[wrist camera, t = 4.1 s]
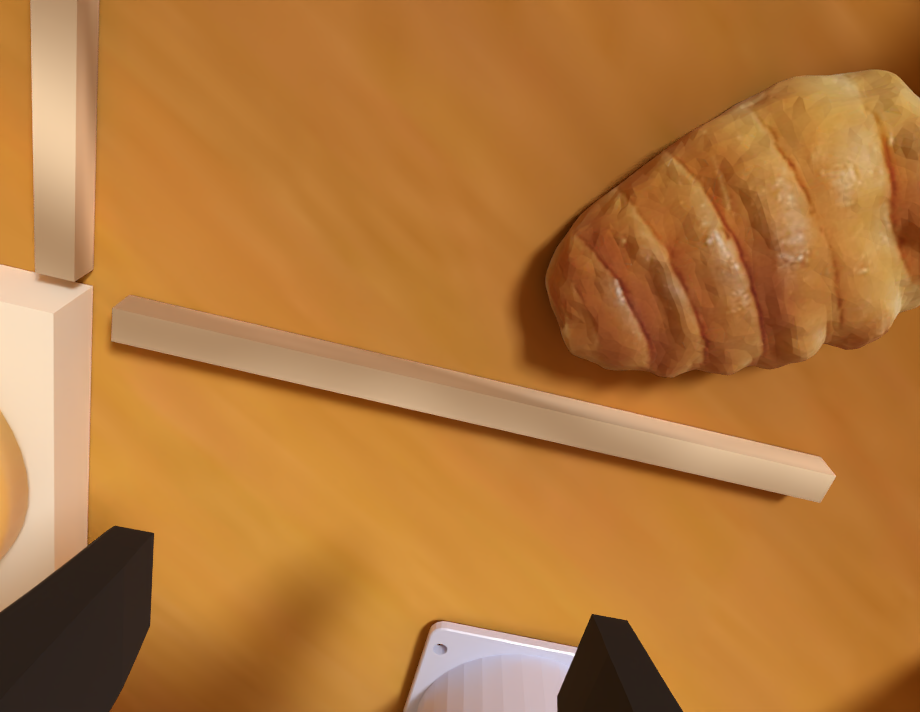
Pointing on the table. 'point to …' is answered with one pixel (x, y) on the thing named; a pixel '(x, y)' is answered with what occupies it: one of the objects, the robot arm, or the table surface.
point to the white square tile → (46, 418)
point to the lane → (317, 361)
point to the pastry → (753, 235)
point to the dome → (11, 488)
